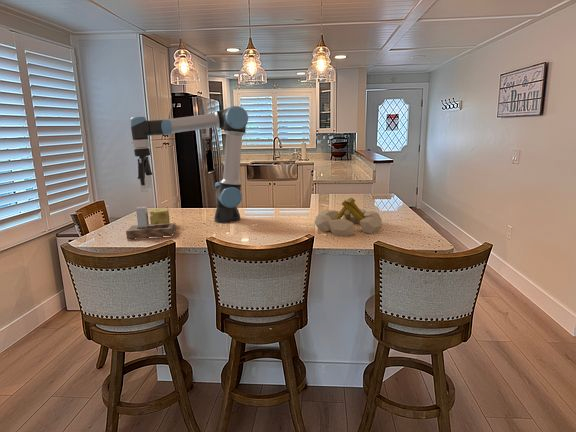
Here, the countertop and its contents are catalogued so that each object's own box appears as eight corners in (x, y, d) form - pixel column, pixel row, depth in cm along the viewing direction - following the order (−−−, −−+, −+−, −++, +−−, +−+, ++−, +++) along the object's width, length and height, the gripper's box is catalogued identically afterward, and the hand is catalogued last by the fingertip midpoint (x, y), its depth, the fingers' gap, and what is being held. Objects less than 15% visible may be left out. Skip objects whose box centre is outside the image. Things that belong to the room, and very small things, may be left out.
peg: (151, 232, 213) (148, 206, 210) (149, 235, 208) (146, 208, 204) (140, 232, 213) (136, 206, 210) (137, 235, 207) (133, 208, 204)
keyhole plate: (175, 231, 218) (174, 223, 217) (171, 237, 206) (170, 228, 205) (133, 233, 215) (132, 225, 214) (127, 239, 204) (126, 231, 203)
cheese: (150, 230, 222) (148, 212, 220) (151, 225, 232) (149, 208, 230) (170, 228, 225) (168, 210, 222) (170, 224, 235) (168, 207, 233)
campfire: (328, 240, 193) (328, 205, 189) (306, 224, 225) (306, 193, 221) (394, 233, 202) (395, 199, 198) (364, 218, 234) (365, 189, 230)
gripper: (139, 147, 217) (144, 186, 221) (127, 150, 192) (133, 194, 197) (154, 146, 217) (158, 185, 222) (144, 149, 193) (149, 192, 198)
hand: (147, 189), depth 210 cm, fingers open, 13 cm apart
